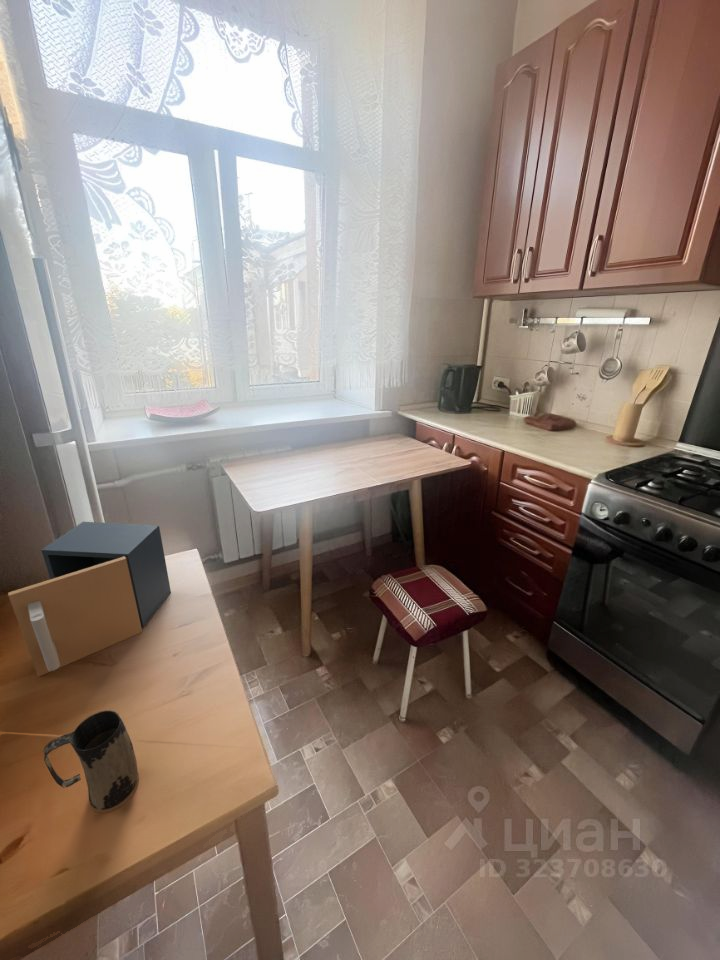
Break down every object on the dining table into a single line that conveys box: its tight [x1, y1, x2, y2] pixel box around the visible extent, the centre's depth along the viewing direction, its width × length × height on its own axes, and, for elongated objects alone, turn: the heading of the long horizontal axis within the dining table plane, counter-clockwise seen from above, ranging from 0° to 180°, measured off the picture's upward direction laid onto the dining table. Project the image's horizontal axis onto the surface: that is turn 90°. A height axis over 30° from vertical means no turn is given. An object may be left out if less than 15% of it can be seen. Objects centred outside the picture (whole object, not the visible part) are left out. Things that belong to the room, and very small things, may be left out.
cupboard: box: [41, 521, 172, 629], centre depth 79 cm, size 11×16×17 cm
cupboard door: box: [7, 556, 143, 678], centre depth 66 cm, size 6×16×17 cm, turn 132°
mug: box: [43, 710, 140, 814], centre depth 48 cm, size 8×6×12 cm
